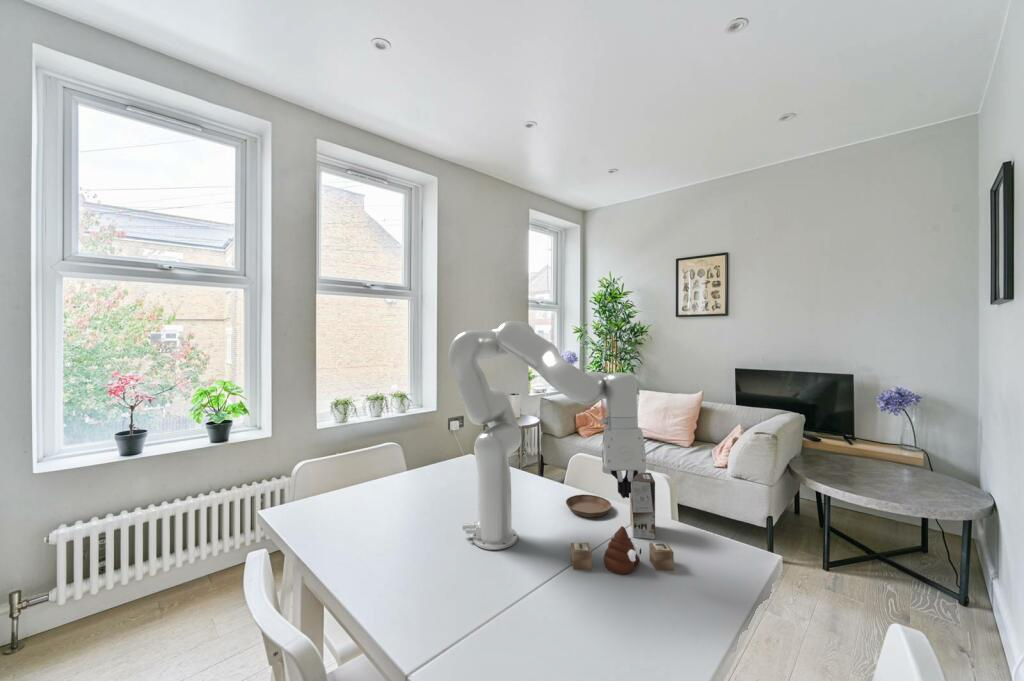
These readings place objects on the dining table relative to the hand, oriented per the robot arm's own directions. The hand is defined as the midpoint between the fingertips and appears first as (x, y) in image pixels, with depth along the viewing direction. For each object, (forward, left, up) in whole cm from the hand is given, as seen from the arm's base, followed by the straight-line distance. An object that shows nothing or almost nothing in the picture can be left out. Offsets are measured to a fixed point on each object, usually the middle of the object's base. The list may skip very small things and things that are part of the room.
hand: (624, 495), depth 103 cm
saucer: (-4, +33, -18) cm, 38 cm away
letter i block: (-11, 0, -18) cm, 21 cm away
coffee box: (+9, +18, -18) cm, 27 cm away
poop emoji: (-1, 0, -18) cm, 18 cm away
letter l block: (+9, 0, -18) cm, 20 cm away
